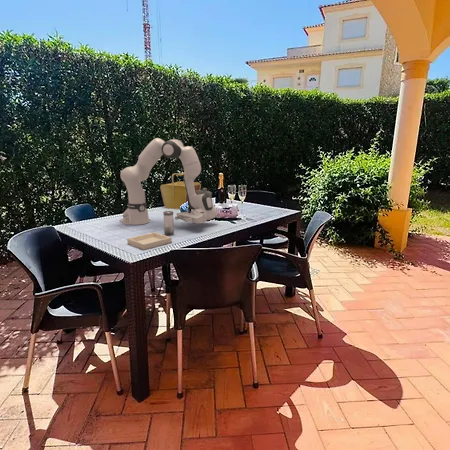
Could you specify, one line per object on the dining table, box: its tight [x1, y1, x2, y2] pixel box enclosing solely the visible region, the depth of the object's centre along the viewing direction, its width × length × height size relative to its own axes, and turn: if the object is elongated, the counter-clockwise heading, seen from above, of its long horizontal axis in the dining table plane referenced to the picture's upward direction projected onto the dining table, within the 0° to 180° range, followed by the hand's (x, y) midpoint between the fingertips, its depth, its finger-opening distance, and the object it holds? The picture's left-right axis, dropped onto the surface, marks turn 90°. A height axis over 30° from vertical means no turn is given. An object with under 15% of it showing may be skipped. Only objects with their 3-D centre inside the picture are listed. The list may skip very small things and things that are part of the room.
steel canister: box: [163, 210, 175, 237], centre depth 186 cm, size 6×6×14 cm
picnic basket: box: [159, 172, 201, 210], centre depth 273 cm, size 29×26×30 cm
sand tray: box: [127, 231, 173, 251], centre depth 171 cm, size 16×18×3 cm
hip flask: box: [197, 187, 213, 198], centre depth 247 cm, size 16×4×20 cm, turn 45°
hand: (180, 219), depth 193 cm, fingers open, 8 cm apart
